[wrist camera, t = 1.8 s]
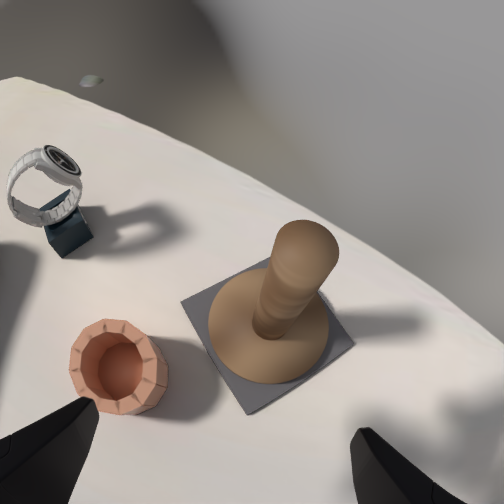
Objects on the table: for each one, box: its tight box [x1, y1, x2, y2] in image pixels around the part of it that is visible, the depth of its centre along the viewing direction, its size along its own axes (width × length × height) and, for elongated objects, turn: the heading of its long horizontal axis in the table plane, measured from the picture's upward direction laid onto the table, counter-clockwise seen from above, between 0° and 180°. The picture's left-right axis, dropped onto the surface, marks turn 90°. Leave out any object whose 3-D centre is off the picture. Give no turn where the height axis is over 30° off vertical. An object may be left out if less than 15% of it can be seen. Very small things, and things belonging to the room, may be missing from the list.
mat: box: [181, 257, 354, 415], centre depth 24 cm, size 11×11×1 cm
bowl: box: [69, 319, 168, 415], centre depth 19 cm, size 7×7×4 cm
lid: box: [208, 220, 339, 384], centre depth 18 cm, size 10×10×12 cm
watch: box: [6, 145, 93, 258], centre depth 22 cm, size 6×8×11 cm
